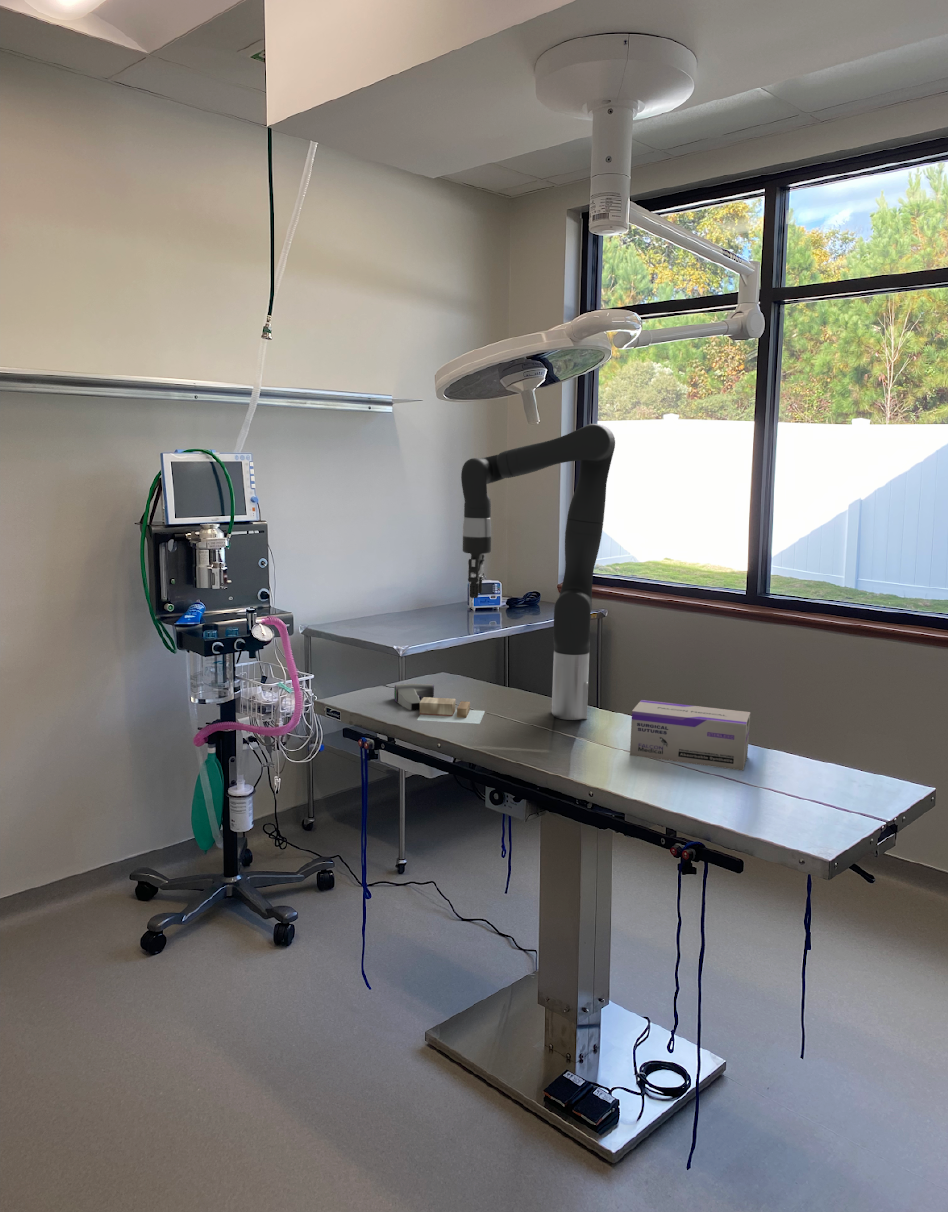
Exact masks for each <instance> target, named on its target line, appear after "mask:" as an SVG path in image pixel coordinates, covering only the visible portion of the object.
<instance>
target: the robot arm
mask: <svg viewBox="0 0 948 1212" xmlns="http://www.w3.org/2000/svg"><path fill="white" fill-rule="evenodd" d="M615 448H616V440H615V435H614V434H613V432H612V431H611V429H610V428H609V427H607V426H605V425H603V424H602V425H601V424H598V423H590V424H589V423H588V424H587V425H584V426H583V427H581V428H579V429H576V430H574V431H571V432H569V433H567V434H564V435H562V436H560V437H559V436H558V437H556V438H553V439H550V440H546V441H543V442H541V441H540V442H538V443H533V444H528V445H523V446H520V447H515V448H511V449H508V450H504V451H501V452H500V453H499V454H494V455H490V456H485V457H478V458H477V457H475V458H474V457H473V458H469V459H468V460H466V461H465V462H464V464H463V465H462V467H461V476H460V477H461V480H460V481H461V488H462V494H463V500H464V505H463V507H464V509H463V512H464V514H463V523H462V524H463V525H462V552H463V553H465V554H470V558H469V559H468V561H467V562H468V563H467V564H468V565H467V566H468V571H467V573H468V574H467V575H468V578H467V582H468V583H469V598H470V599H477V598H478V597H479V594H482V593H483V592H482V591H483V579H484V575H485V563H486V561H485V554H490V553H491V551H492V521H491V517H492V516H491V515H492V514H491V512H492V504H491V498H490V496H489V495H488V487H487V485H489V484H493V483H495V482H498V481H499V482H500V481H501V480H504V479H509V478H510V479H511V478H516V477H520V476H524V475H527V474H530V473H534V472H535V473H536V472H538V471H541V470H543V469H546V468H549V467H551V466H554V465H555V466H556V465H558V464H559V465H560V464H564V463H569V462H577V461H578V462H580V463H579V475H578V480H577V484H576V487H575V490H574V493H573V495H572V498H571V501H570V504H569V507H568V512H567V518H566V525H565V533H564V534H565V535H564V556H565V557H564V559H565V567H564V575H563V579H562V580H563V581H562V584H561V589H560V593H559V596H558V598H557V600H556V601H555V603H554V609H553V635H552V636H553V663H552V689H551V691H552V692H551V714H552V716H553V717H554V718H556V719H561V720H565V721H567V720H568V721H578V720H588V698H589V672H590V671H589V670H590V651H591V650H590V649H591V639H590V637H591V635H590V633H591V631H590V630H591V613H592V611H593V610H592V609H593V597H592V596H593V577H594V576H593V575H594V569H595V565H596V561H597V558H598V554H599V549H600V546H601V541H602V536H603V527H604V521H605V511H606V510H605V509H606V496H607V482H608V477H609V473H610V468H611V464H612V460H613V456H614V451H615Z"/></svg>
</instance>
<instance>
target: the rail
mask: <svg viewBox="0 0 948 1212" xmlns="http://www.w3.org/2000/svg"><path fill="white" fill-rule="evenodd" d="M470 707H471V701H462V700H461V701H460V702H459V704H458V706H457V708H456V709H457V717H458V718H466V717H467V715H468V713H469V711H470V710H471V708H470Z"/></svg>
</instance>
